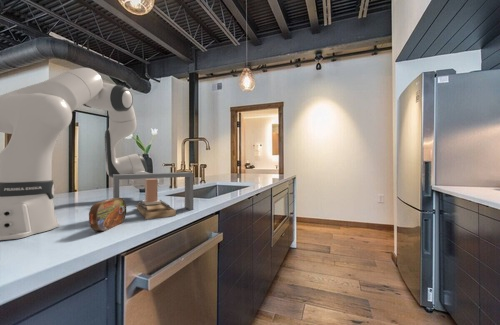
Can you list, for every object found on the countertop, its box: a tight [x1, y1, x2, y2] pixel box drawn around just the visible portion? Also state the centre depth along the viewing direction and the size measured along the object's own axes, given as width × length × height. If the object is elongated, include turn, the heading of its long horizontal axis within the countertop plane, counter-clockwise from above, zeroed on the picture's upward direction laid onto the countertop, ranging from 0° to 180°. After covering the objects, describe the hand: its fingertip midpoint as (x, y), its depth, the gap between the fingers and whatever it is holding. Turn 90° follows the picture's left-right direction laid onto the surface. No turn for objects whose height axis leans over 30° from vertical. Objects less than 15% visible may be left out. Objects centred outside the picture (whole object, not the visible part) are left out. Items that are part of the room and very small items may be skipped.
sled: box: [141, 179, 161, 205], centre depth 99 cm, size 6×7×10 cm
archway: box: [112, 171, 194, 211], centre depth 92 cm, size 28×6×15 cm, turn 123°
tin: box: [88, 197, 127, 232], centre depth 72 cm, size 15×3×8 cm, turn 179°
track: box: [136, 199, 177, 220], centre depth 93 cm, size 10×22×3 cm, turn 33°
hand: (145, 182), depth 109 cm, fingers open, 8 cm apart
